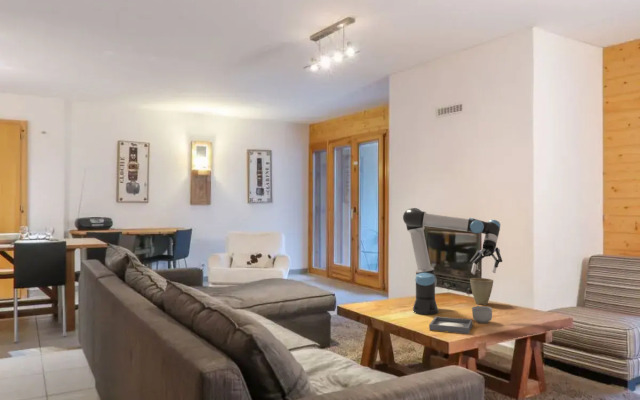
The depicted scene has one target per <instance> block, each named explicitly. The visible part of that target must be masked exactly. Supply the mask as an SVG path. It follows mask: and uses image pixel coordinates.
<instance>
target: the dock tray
mask: <svg viewBox="0 0 640 400" xmlns="http://www.w3.org/2000/svg"><path fill="white" fill-rule="evenodd" d="M472 327H473V319H471V318H458V317H449V316H448V317H447V316H445V317H444V316H434V317H433V319H432V320H431V322H430V323H429V325H428V330H429V329H430V330H429V331H432V330H439V331H438V332H443V331H448V332H447V333H454V332H456V333H457V334H464V335H465V334H466V335H467V334H470V331H471V329H472Z"/></svg>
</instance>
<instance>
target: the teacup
mask: <svg viewBox="0 0 640 400" xmlns="http://www.w3.org/2000/svg"><path fill="white" fill-rule="evenodd" d="M471 311H472V318H473V319H472V320H474V321H475V322H477V323H479V324H487V323H490V321H492V319H493V308H492V307H491V306H483V305H476V306H473V307H472V308H471Z"/></svg>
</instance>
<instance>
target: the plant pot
mask: <svg viewBox="0 0 640 400" xmlns="http://www.w3.org/2000/svg"><path fill="white" fill-rule="evenodd" d="M469 282H470V283H469V284H470V289H471V292H472V297H473V299H474V301H475V304H477V305H488V303H489V300H490V298H491V294H492V291H493V287H494V285H493V284H494V279H491V278H483V277H473V278H470V279H469Z"/></svg>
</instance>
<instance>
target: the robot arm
mask: <svg viewBox="0 0 640 400" xmlns="http://www.w3.org/2000/svg"><path fill="white" fill-rule="evenodd" d="M402 220H403V222H404V223H405V226H406V230H407V232H409V234H410V237H411V243H412V248H413V249H412V250H413V253H414V257H415V258H414V259H415V263H416V267H417V269H416V270H415V279H414V280H415V301H414V304H413V307H412V312H413V311H414V312H416V313H415V314H417V313H420V314H419V315H426V314H430V315H436V314H438V313H439V308H438V305H437V302H436V287H437V284H438V279H437V277H436V274H435V268H433V267H432V265H431V261H430V256H429V251H428V246H427V241H426V237H425V232H424V230H425V228H426V227H433V228H441V229H448V230H453V231H455V230H456V231H461V232H462V231H463V232H466V233H468V232H469V233H474V234H484V239H483V241H482V249H479V248H478V249H477V250H476V252H475V254H474V255H473V256H472V257H471V259H470V260H469V263H470V264H471V267H470V268H471V270H470V273H471V274H472V275H474V276H475V275H476V270H477V266H478V265H477V264H478V263H479V262H481V260H482V259H484V258H485V257H486V258H487V257H492V258H493V259H494V261H493V265H492V268H491V272H492V273H494V274H496V271H497V268H498V267H499V264H500V263H503V258H502V256H501V253H500V252H501V251H500V248H499V247H497V243H498V239H499V235H500V231H501V222H500V221H498V220H497V219H489V221H483V220H480V219H477V218H471V217H469V218H461V217H457V216H456V217H455V216H448V215H441V214H432V213H428V212H426V211H422V210H420V209H419V208H416V207H414V208H413V207H411V208H408V209H407V210H405V211H404V213H403V215H402ZM494 253H496V256H495V254H494ZM414 312H413V313H414Z"/></svg>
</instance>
